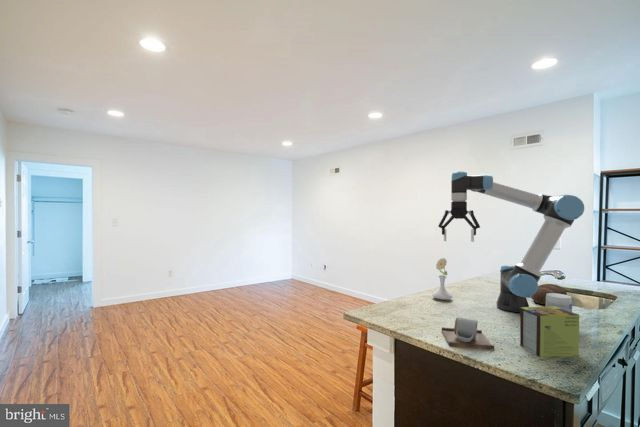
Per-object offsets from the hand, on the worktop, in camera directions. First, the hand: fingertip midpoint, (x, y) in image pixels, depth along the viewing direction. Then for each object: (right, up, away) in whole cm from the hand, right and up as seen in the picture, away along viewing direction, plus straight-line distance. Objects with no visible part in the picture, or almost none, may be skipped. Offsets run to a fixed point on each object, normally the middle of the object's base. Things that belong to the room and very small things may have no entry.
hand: (458, 241), depth 167 cm
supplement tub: (+35, -37, -24) cm, 56 cm away
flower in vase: (0, -37, +22) cm, 43 cm away
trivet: (-14, -37, -39) cm, 55 cm away
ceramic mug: (-17, -36, -39) cm, 55 cm away
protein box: (+13, -38, -48) cm, 62 cm away
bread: (+65, -37, +23) cm, 79 cm away
